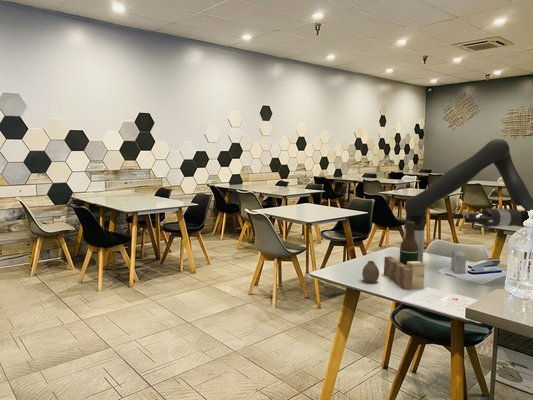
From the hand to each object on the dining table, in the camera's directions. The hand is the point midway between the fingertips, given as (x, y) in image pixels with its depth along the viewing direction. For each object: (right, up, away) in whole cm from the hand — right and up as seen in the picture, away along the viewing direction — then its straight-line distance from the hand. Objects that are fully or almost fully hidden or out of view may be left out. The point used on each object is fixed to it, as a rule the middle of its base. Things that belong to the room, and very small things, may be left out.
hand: (458, 218), depth 167 cm
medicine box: (+9, -26, +21) cm, 34 cm away
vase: (-35, -27, +6) cm, 45 cm away
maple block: (-18, -28, 0) cm, 34 cm away
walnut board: (-23, -27, +7) cm, 36 cm away
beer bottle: (-15, -26, +17) cm, 34 cm away
